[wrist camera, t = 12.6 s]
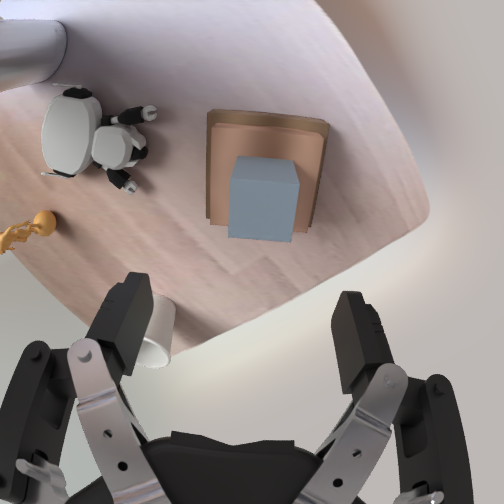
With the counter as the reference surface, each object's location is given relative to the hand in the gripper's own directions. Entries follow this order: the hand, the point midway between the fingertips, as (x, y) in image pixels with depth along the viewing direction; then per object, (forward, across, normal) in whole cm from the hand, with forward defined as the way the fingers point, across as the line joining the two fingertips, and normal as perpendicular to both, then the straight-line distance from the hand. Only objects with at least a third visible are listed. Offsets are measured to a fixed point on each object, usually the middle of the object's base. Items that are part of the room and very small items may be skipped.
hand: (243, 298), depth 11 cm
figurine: (+23, +32, +10) cm, 41 cm away
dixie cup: (+23, +14, +27) cm, 38 cm away
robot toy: (+24, +19, -2) cm, 30 cm away
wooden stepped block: (+23, -1, +2) cm, 23 cm away
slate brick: (+17, -1, +2) cm, 17 cm away
